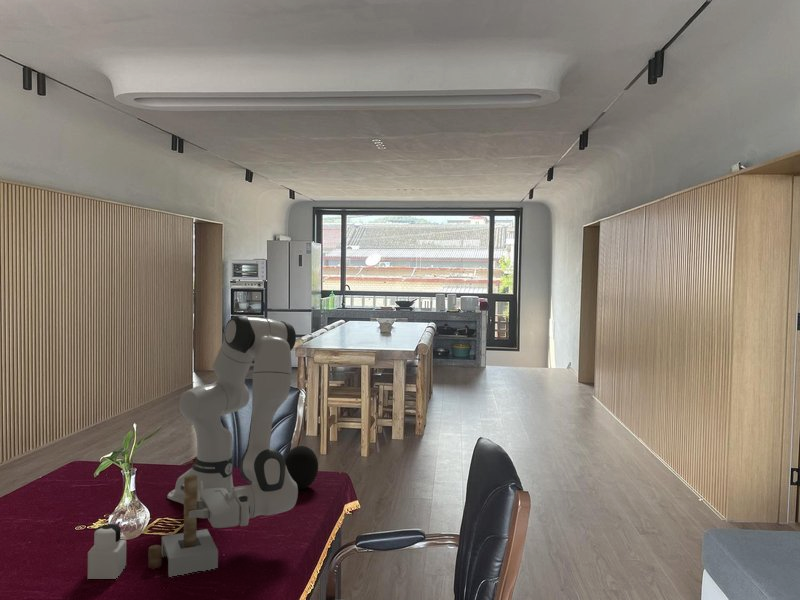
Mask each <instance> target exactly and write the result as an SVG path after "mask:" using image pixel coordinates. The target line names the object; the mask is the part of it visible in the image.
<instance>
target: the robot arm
mask: <svg viewBox="0 0 800 600" xmlns="http://www.w3.org/2000/svg"><path fill="white" fill-rule="evenodd" d="M296 340H297V334H296V330H295V328H294V326H293V325H292V324H290V323H288V322H286V321H282V320H281V321H279V320H275V319H273V318H268V317H258V316H257V317H256V316H247V315H236V316H232V317H231V318H230V319H229V320H228V321H227V323H226V326H225V329H224V340H223V342H222V344H221V346H220V348H219V350H218V352H217V355H216V356H215V359H214V360H213V363H212V364H213V365H212V369H213V372H214V374H215V375H216V376H217V379H216V380H215V381H214V382H212V383H207V384H202V385H197V386H195V387H192V388H190V389H188V390H186V391H184V392H183V393H182V394H181V395H180V398H179V402H178V405H179V406H178V407H179V411H180V414H181V415H182V416H183V418H185V419H186V420H188V421H189V423H191V424H192V426H193V429H194V431H195V434H196V454H197V455H196V457H194V458H192V459H190V460H189V461H190V462H189V464H192V463H193V464H192V467H191V468H189V469H188V470H187V471H186V472H184V473H183V474H182V475H181V474H180V476H179V477H178V478H177V480H176V483H175V487H174V489H172V490H171V491H169V492H168V494H167V499H168V500H171V501H173V502H177V503H178V504H181V505H184V477H185V476H187V475H196V476H197V510H195V509H190V510H188V516H189V518H195V517H196V518H198V519H207V520H208V522H209V523H210V525H211V527H212V528H214V529H223V528H225V529H226V528H232V527H236V526H240V527H247V526H248V525H249V521H250V519H254V518H256V517H258V516H273V515H277V514H281V513H285V512H288V511H290V510H292V509H293V508H294V507H295V505H296V504H297V501H298V497H299V489H298V487H297V484H296V482H295V481H294V480H293V479H292V478H291V476H290V474H289V472H288V470H287V467H286V464H285V457H284V455H283V454H282V453H281V452H280V451H279V450H278V449H277V450H276V449H273V448H271V445H270V444H271V436H272V427H273V421H274V417H275V415H276V413H277V411H278V410H279V408H280V407H281V406H282V405H283V404H284V402H286V400H287V399H288V397H289V394H290V391H291V385H292V367H293V366H292V352H291V351H292V350H293V349H294V347H295V344H296V342H297V341H296ZM252 363H253V370H252V385H251V386H252V387H251V388H252V393H251V395H252V396H251V397H252V402H251V416H250V424H249V432H248V442H247V446H246V450H244V453H243V455H242V457H241V460H240V462H239V472H240V475H241V477H242V479H243V480H245V481H246V483H249V484H246V485H241V486H240V485H238V486H234V482H233V468H234V467H233V466H234V456H233V455H232V452H233V451H232V450H233V449H232V448H233V446H232V445H233V435H232V432H231V431H230V430H229V429H227V428H226V427H225V426H223V424H222V421H221V418H222V416H224V415H228V414H233V413H236V412H238V411H240V410H241V409H243V408H244V407H246V406H247V405H248V404H249V401H250V390H249V388H248V386H247V385H246V377H247V375H248V372H249V370H250V368H251V365H252Z"/></svg>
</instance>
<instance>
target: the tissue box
mask: <svg viewBox="0 0 800 600" xmlns="http://www.w3.org/2000/svg"><path fill="white" fill-rule="evenodd" d="M161 546H162V558H167V561H168V562H167V563H168V564H167V574H168V575H167V576H168V578H169V577H171V578H173V577H172V576H177V575H182V576H185V575H184V574H187V575H189V574H188V573H192V572H197V571H203V572H207V571H206V570H208V571H212V570H211V569H213V570H216V569H215V568H218V569H219V549H218V547H217V545H216V543H215V541H214V540H213V537H212V536H211V533H210V532H209V529H208V528H206V529H205V528H204V529H200V530H196V546H194V547H189V548H184V532H180V533H173V534H168V535H162V536H161ZM164 556H165V557H164ZM166 556H167V557H166ZM197 573H198V572H197ZM192 574H193V573H192ZM177 577H178V576H177Z"/></svg>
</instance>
